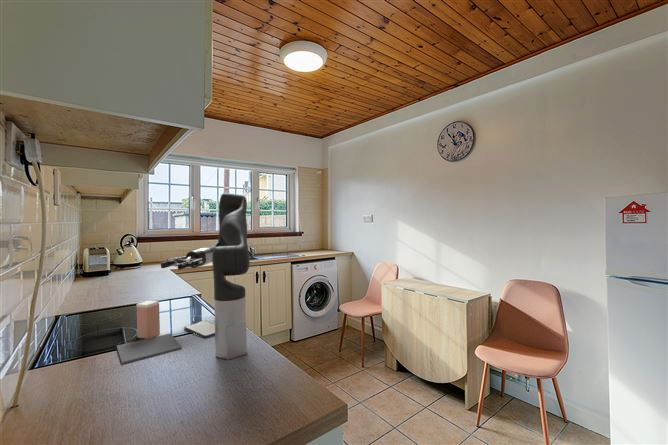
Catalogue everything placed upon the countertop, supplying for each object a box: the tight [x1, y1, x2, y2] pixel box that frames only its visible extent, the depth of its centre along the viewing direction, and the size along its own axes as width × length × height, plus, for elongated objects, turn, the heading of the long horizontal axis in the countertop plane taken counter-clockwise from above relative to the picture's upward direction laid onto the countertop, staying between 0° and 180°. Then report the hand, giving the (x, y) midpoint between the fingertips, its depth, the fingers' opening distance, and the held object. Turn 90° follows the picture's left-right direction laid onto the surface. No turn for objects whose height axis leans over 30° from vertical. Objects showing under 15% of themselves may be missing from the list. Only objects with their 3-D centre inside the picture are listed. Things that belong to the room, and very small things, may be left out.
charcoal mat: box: [116, 333, 183, 365], centre depth 101 cm, size 16×16×1 cm
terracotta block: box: [136, 300, 161, 339], centre depth 112 cm, size 5×5×12 cm
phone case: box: [183, 320, 215, 339], centre depth 116 cm, size 9×2×16 cm
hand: (169, 266), depth 121 cm, fingers open, 8 cm apart
